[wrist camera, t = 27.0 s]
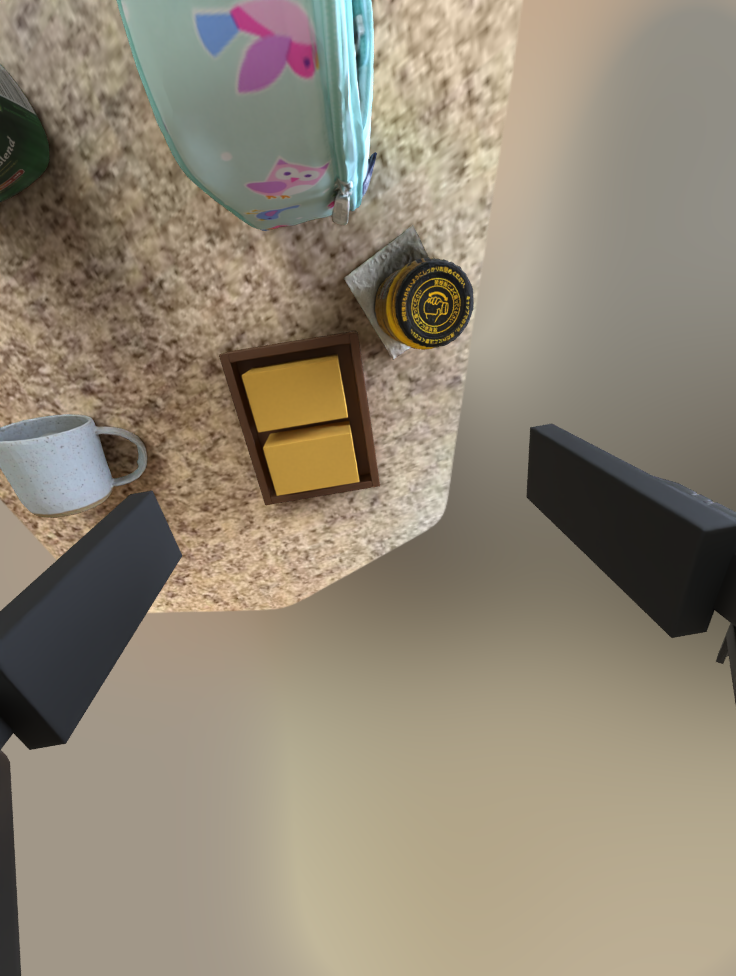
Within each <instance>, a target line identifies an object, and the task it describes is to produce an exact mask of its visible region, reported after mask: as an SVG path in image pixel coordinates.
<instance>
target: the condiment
mask: <svg viewBox="0 0 736 976" xmlns="http://www.w3.org/2000/svg"><path fill="white" fill-rule="evenodd" d="M344 279H345V281H346V283H347V284H348V286H349V287H350V289H351V291H352V293H353V294H354V296H355V297H356V299H357V301H358V302H359V304H360V306H361V307H362V309H363V311H364V312H365V314H366V316H367V317H368V319H369V321H370V323H371V324H372V326H373V328H374V329H375V331H376V332H377V334H378V336H379V338H380V339H381V341H382V343H383V344H384V346H385V347H386V349H387V351H388V352H389V354H390V356H391V357H392V359H393V360H394V359H395V358H396V357H398V356H399V355H401V354H402V353H404V352H405V351H406V350H408V349H409V348H410V347H411V348H414V349H422V350H425V349H432V348H435V347H439V346H445V345H447V344H449V343H450V342H451V341H454V340H455V339H456V338H457V337H458V336H459V335H460V334H461V333H462V332H463V330H464V328H465V327H466V326H467V324H468V322H469V320H470V317H471V314H472V311H473V303H474V302H473V288H472V285H471V283H470V281H469V279H468V277H467V276H466V274H465V273H464V272H463V271H462V270H461V267H460V266H457V265H455V264H454V263H452V262H448V261H446V260H440V259H435V258H429V257H428V255H427V253H426V251H425V249H424V247H423V245H422V243H421V240H420V238H419V236H418V234H417V232H416V230H415V228H414V226H413V225H412V226H411V227H410V228H408V229H407V230H406V231H405V232H403V233H402V234H401V235H399V236H398V237H397V238H395V239H394V240H393V241H392V242H390V243H389V244H388V245H386V246H385V247H384V248H383V249H381V250H380V251H379V252H377V253H376V254H375V255H373V256H372V257H371V258H370V259H368V260H367V261H366V262H364V263H363V264H362V265H360V266H359V267H358V268H357V269H355V270H354V271H353V272H351V273H350V274H349V275H347V276H346V277H345V278H344Z"/></svg>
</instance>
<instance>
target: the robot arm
mask: <svg viewBox="0 0 736 976" xmlns="http://www.w3.org/2000/svg"><path fill="white" fill-rule="evenodd" d="M527 498H528V499H529V500H530V501H531V502H532V503H533V504H534V505H535V506H536V507H537V508H538V509H539V510H540V511H541V512H542V513H543V514H544V515H545V516H546V517H547V518H549V519H550V520H551V521H552V522H553V523H554V524H555V525H556V526H557V527H558V528H559V529H560V530H561V531H562V532H563V533H564V534H565V535H566V536H567V537H568V538H569V539H570V540H571V541H572V542H573V543H574V544H575V545H577V547H578V548H580V550H582V551H583V552H584V553H585V554H586V555H587V556H588V557H589V558H590V559H591V560H592V561H593V562H594V563H595V564H596V565H597V566H598V567H599V568H600V569H601V570H602V571H603V572H604V573H605V574H607V576H608V577H610V579H611V580H612V581H614V582H615V583H616V584H617V585H618V586H619V587H620V588H621V589H622V590H623V591H624V592H625V593H626V594H627V595H628V596H629V597H630V598H631V599H632V600H633V601H634V602H635V603H636V604H637V605H638V606H639V607H640V608H641V609H642V610H644V612H645V613H647V614H648V615H649V616H650V617H651V618H652V619H653V620H654V621H655V622H656V623H657V624H658V625H659V626H660V627H661V628H662V629H663V630H664V631H665V632H666V633H667V634H668V635H669V636H670V637H671V638H674V637H680V636H685V635H691V634H697V633H703V632H707V629H708V626H709V623H710V621H711V618H712V615H713V613H714V610H715V611H717V612H718V613H719V614H720V615H722V616H723V617H724V618H726V619H727V620H728V621H729V622H731V624H730V626H729V628H728V631H727V633H726V636H725V638H724V641H723V643H722V646H721V648H720V651H719V653H718V656H717V660H716V662H718V663H722V664H723V663H724V660H725V657H727V656H729V660H730V668H731V675H732V682H733V689H734V696H735V703H736V512H735V511H733V510H731V509H729V508H727V507H725V506H723V505H721V504H719V503H713V502H712V500H710V499H709V498H707V497H705V496H703V495H701V494H699V495H697V493H696V492H695V491H693V490H691V489H689V488H687V487H685V486H683V485H681V484H679V483H676V482H673V481H669V480H666V479H662V478H659V477H655V476H652V475H650V474H648V473H646V472H644V471H642V470H640V469H638V468H637V467H635V466H633V465H631V464H629V463H627V462H625V461H623V460H621V459H619V458H617V457H615V456H613V455H611V454H610V453H608V452H606V451H604V450H602V449H600V448H598V447H596V446H594V445H592V444H590V443H588V442H586V441H584V440H583V439H581V438H579V437H577V436H575V435H573V434H571V433H569V432H567V431H565V430H563V429H561V428H559V427H557V426H555V425H554V424H548V425H542V426H536V427H531V428H530V443H529V463H528V480H527ZM181 557H182V554H181V552H180V549H179V547H178V545H177V543H176V541H175V539H174V536H173V534H172V532H171V530H170V528H169V525H168V523H167V521H166V519H165V517H164V514H163V512H162V510H161V508H160V506H159V504H158V501H157V499H156V497H155V495H154V493H153V491H147V492H141V493H135V494H130V495H129V496H128V497H127V498H126V499H125V500H123V501H122V502H121V503H120V504H119V505H118V506H117V507H116V508H115V509H113V510H112V511H111V512H110V513H109V514H108V515H107V516H106V517H105V518H103V519H102V520H101V521H100V522H99V523H98V524H97V525H96V526H95V527H93V528H92V529H91V530H90V531H89V532H88V533H87V534H86V535H85V536H83V537H82V538H81V539H80V540H79V541H78V542H77V543H76V544H75V545H73V546H72V547H71V548H70V549H69V550H68V551H67V552H66V553H65V554H63V555H62V556H61V557H60V558H59V559H58V560H57V561H56V562H55V563H53V565H51V566H50V567H49V568H48V569H47V570H46V571H45V572H43V573H42V574H41V575H40V576H39V577H38V578H37V579H36V580H35V581H33V582H32V583H31V584H30V585H29V586H28V587H27V588H26V589H25V590H23V591H22V592H21V593H20V594H19V595H18V596H17V597H16V598H15V599H13V600H12V601H11V602H10V603H9V604H8V605H7V606H6V607H5V608H3V609H2V610H1V611H0V976H21V965H20V945H19V926H18V907H17V888H16V869H15V850H14V831H13V811H12V794H11V793H12V792H11V773H10V761H9V759H8V758H7V756H6V755H5V754H4V753H3V752H2V751H1V748H2V747H3V746H4V745H5V743H6V742H7V741H8V739H9V738H10V737H11V735H12V734H13V733H14V734H15V735H16V736H17V737H18V738H19V739H20V740H21V741H22V742H23V743H24V744H25V746H26V747H27V748H29V750H31V749H37V748H43V747H49V746H55V745H60V744H66V742H67V741H68V739H69V738H70V736H71V734H72V733H73V731H74V729H75V728H76V726H77V725H78V723H79V721H80V720H81V718H82V717H83V715H84V713H85V712H86V710H87V709H88V707H89V705H90V704H91V702H92V700H93V699H94V697H95V696H96V694H97V692H98V691H99V689H100V687H101V686H102V684H103V683H104V681H105V679H106V678H107V676H108V675H109V673H110V671H111V670H112V668H113V667H114V665H115V663H116V662H117V660H118V659H119V657H120V655H121V654H122V652H123V650H124V649H125V647H126V646H127V644H128V642H129V641H130V639H131V638H132V636H133V634H134V633H135V631H136V630H137V628H138V626H139V624H140V623H141V621H142V620H143V618H144V617H145V615H146V613H147V612H148V610H149V609H150V607H151V605H152V604H153V602H154V601H155V599H156V597H157V596H158V594H159V592H160V591H161V589H162V588H163V586H164V584H165V583H166V581H167V580H168V578H169V576H170V575H171V573H172V572H173V570H174V568H175V567H176V565H177V563H178V562H179V560H180V559H181Z"/></svg>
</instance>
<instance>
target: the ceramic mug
mask: <svg viewBox="0 0 736 976" xmlns="http://www.w3.org/2000/svg"><path fill="white" fill-rule="evenodd" d="M98 434H111V435H117V436H121V437H124V438H126V439H128V440H130V441H131V442H133V443H135V444H136V445H137V448H138V454H139V459H138V460H137V463H138V465H139V466H138V469H137V470H135V471H134V472H133V473H131V474H129V475H127V476H123V477H120V478H112V476H111V473H110V469H109V467H108V464H107V462H106V459H105V455H104V452H103V448H102V445H101V441H100V438H99V435H98ZM146 466H147V451H146V448H145V446H144V444H143V442H142V441H141V440H140V438H139V437H138V436H136V435H135V434H133V433H131V432H130V431H127V430H124V429H121V428H115V427H104V426H103V427H98V426H96V425H95V423H94V421H93V419H92V418H90V417H88V416H85V415H71V414H68V415H54V416H46V417H39V418H33V419H28V420H23V421H20V422H17V423H12V424H9V425H7V426H4V427H1V428H0V468H1V470H2V472H3V473H4V475H5V476H6V478H7V480H8V481H9V483H10V484H11V486H12V488H13V489H14V491H15V493H16V495H17V496H18V498H19V499H20V501H21V502H22V504H23V505H24V506H25V507H26V508H27V509H28V510H29V511H30V512H31V513H33V514H34V515H37V516H39V517H48V518H57V517H65V516H69V515H74V514H78V513H81V512H84V511H87V510H89V509H92V508H94V507H96V506H98V505H100V504H101V503H102V502H104V501H105V500H106V499H107V498H108V497H109V496H110V494H111V493H112V489H113V487H114V486H120V485H125V484H127V483H130V482H132V481H134V480H136V479H137V478H139V476H140V475H141V474H142V473H143V472H144V470H145V468H146Z"/></svg>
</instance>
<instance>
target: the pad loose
mask: <svg viewBox="0 0 736 976" xmlns="http://www.w3.org/2000/svg"><path fill="white" fill-rule="evenodd" d="M242 379H243V382H244V386H245V389H246V392H247V396H248V399H249V403H250V406H251V410H252V413H253V416H254V420H255V423H256V427H257V430H258V432H265V431H271V430H277V429H283V428H289V427H295V426H301V425H307V424H313V423H319V422H325V421H331V420H337V419H343V418H347V417H348V413H347V406H346V400H345V394H344V389H343V383H342V377H341V371H340V366H339V360H338V355H337V354H334V355H328V356H322V357H316V358H310V359H303V360H297V361H291V362H285V363H279V364H273V365H267V366H261V367H255V368H252V369H250V370H249V371H247V372H246V373H244V374H243V375H242Z"/></svg>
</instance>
